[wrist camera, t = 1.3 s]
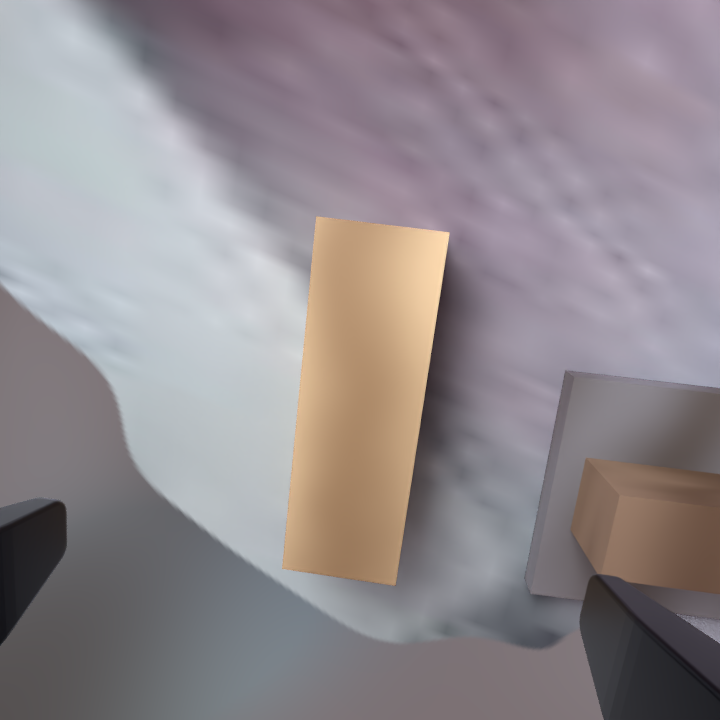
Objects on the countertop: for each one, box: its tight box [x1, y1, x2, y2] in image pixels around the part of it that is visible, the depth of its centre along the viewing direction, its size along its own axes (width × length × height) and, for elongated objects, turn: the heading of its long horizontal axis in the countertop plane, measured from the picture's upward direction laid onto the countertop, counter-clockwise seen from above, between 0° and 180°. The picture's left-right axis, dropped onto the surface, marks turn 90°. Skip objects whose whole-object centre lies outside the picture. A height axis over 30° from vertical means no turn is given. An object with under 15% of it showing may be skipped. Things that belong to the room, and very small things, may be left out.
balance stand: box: [525, 371, 720, 619], centre depth 18 cm, size 9×9×4 cm
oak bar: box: [282, 216, 449, 586], centre depth 19 cm, size 4×12×4 cm, turn 173°
